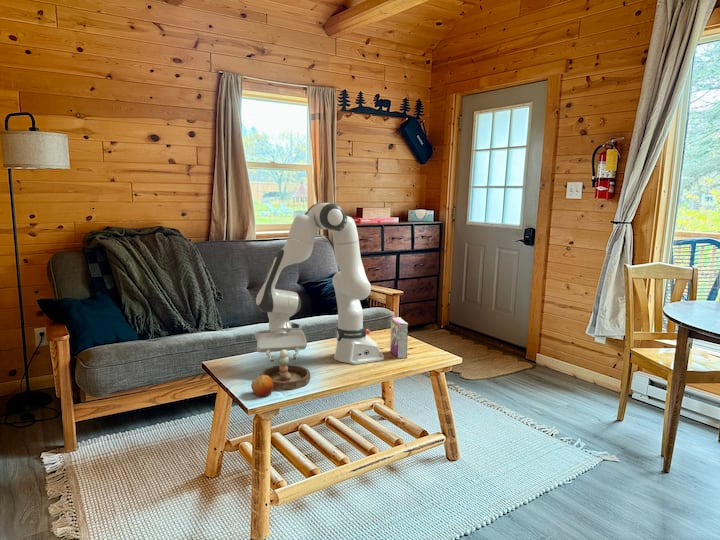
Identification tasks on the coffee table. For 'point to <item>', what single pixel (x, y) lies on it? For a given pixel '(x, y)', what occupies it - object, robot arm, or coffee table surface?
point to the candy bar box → (399, 337)
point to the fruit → (262, 386)
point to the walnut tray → (295, 377)
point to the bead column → (283, 362)
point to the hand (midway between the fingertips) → (283, 359)
